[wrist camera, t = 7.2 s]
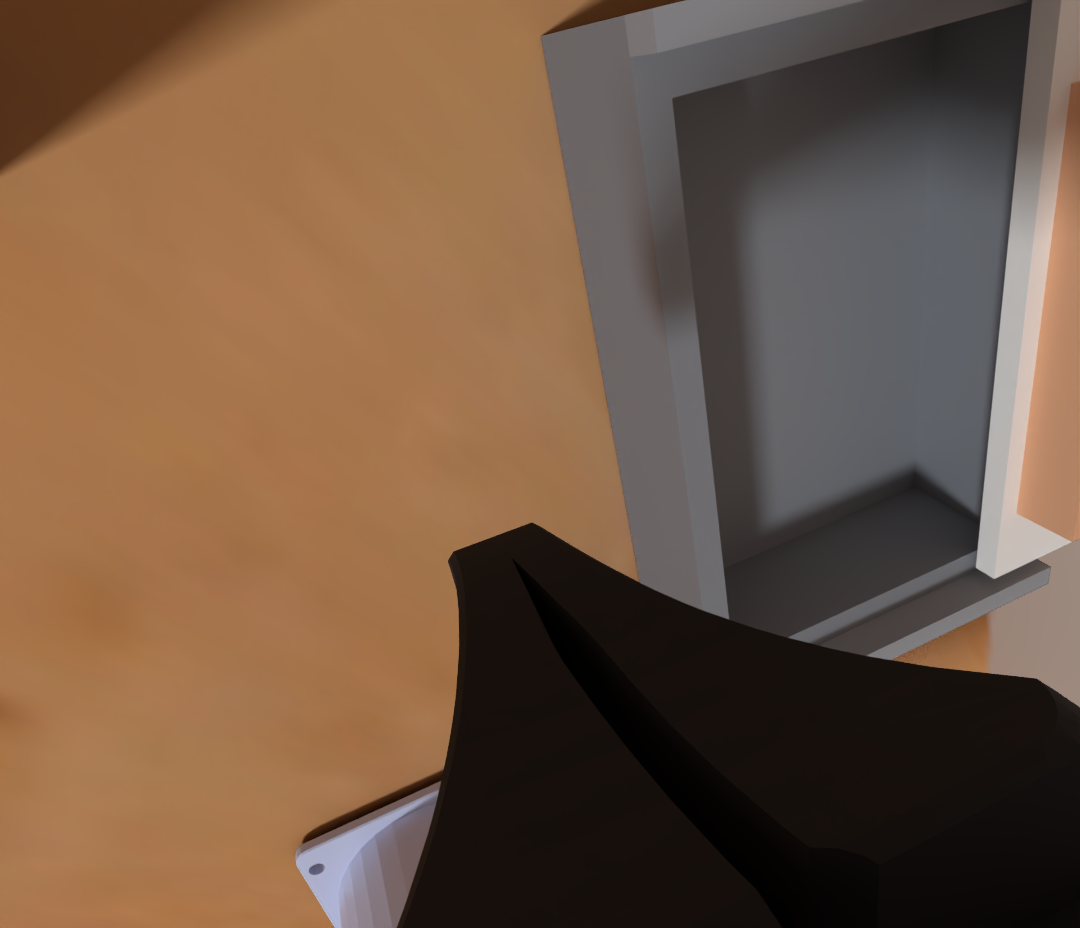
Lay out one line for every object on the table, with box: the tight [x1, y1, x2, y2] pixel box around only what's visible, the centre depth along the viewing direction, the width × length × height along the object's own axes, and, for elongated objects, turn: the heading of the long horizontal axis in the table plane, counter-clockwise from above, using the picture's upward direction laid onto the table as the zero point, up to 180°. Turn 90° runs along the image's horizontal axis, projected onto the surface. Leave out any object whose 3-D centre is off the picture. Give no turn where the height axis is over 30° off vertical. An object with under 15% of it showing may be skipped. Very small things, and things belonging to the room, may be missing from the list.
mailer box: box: [541, 0, 1051, 660], centre depth 21 cm, size 19×12×6 cm, turn 13°
